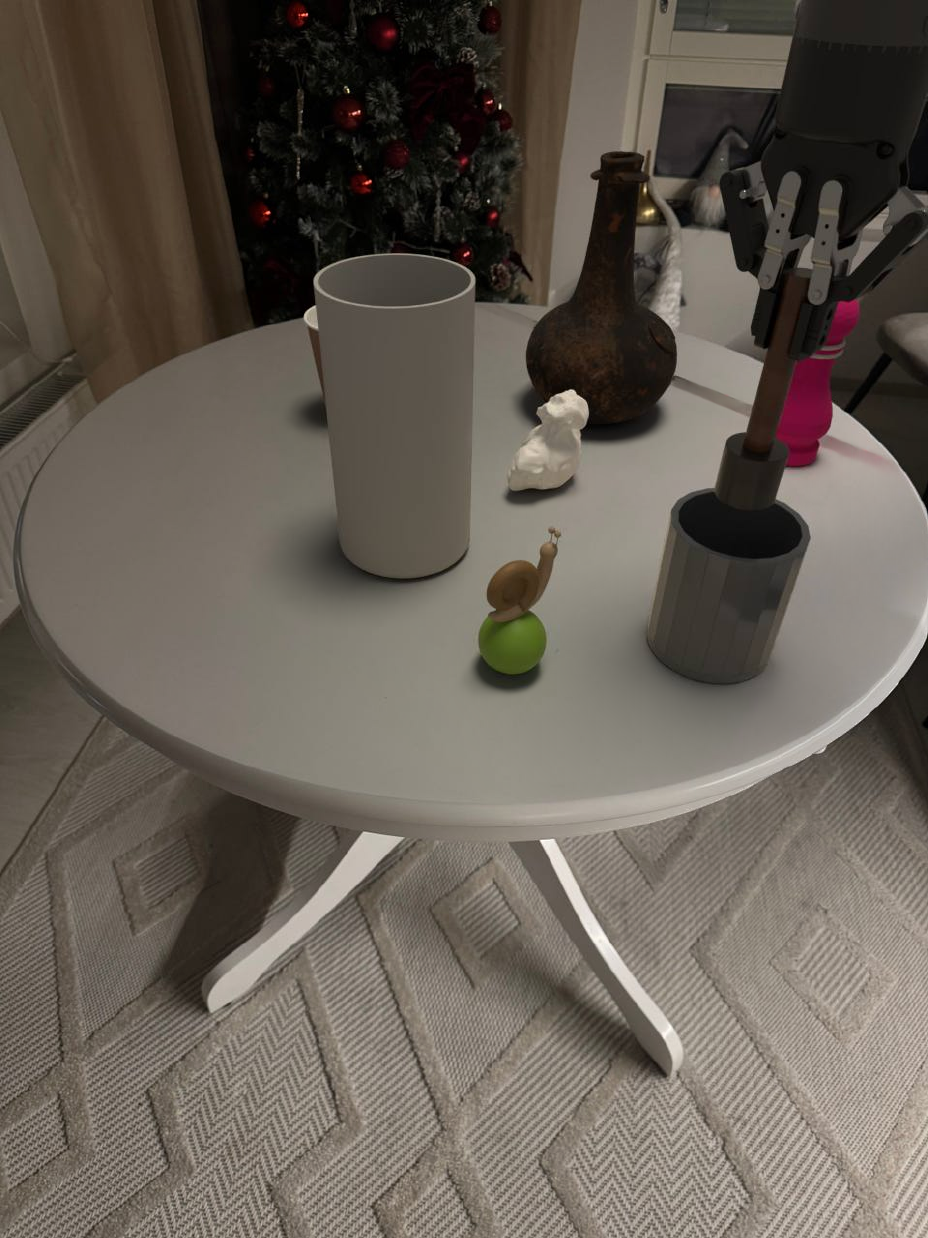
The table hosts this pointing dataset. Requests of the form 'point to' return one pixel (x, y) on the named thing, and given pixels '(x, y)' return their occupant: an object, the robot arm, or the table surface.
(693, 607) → the grey pencil holder
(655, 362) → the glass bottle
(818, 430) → the pepper mill
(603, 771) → the table surface
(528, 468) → the bust
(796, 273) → the brush
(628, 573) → the table surface
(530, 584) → the snail figurine
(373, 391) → the cylinder vase
